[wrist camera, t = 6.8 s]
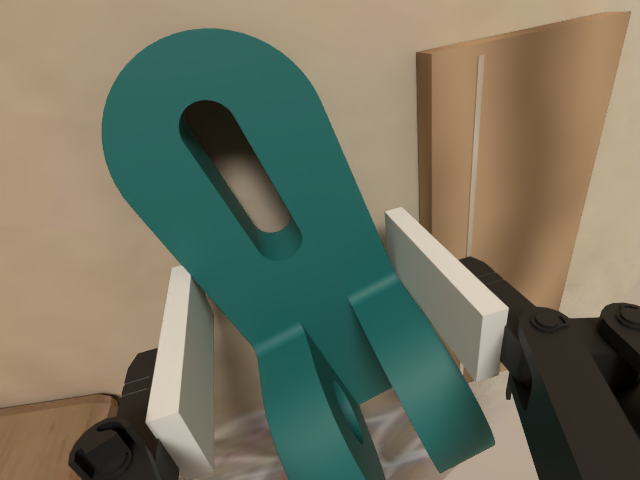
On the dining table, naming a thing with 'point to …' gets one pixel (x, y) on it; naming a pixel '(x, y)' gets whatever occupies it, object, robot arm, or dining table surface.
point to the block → (47, 436)
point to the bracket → (286, 255)
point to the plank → (515, 146)
